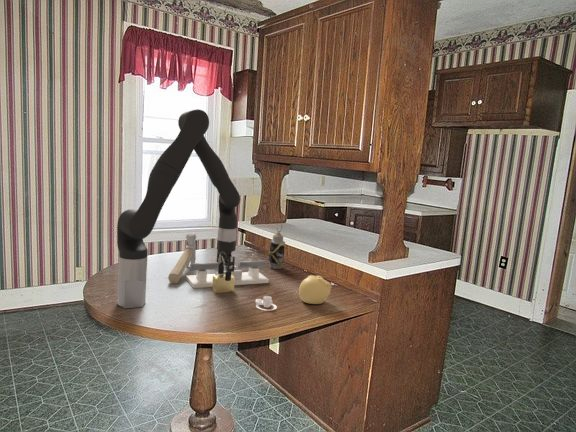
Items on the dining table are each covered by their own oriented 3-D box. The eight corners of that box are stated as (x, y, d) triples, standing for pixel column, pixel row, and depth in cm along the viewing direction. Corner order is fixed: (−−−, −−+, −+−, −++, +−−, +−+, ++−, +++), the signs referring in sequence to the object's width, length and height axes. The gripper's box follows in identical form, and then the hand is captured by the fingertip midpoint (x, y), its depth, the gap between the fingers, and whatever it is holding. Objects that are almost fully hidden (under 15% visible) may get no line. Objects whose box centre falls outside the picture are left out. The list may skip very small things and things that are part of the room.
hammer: (179, 263, 166) (197, 232, 194) (167, 261, 166) (187, 231, 194) (179, 296, 172) (196, 262, 200) (168, 295, 172) (187, 261, 200)
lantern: (285, 269, 206) (290, 220, 203) (270, 269, 203) (275, 220, 199) (279, 264, 214) (283, 217, 210) (264, 264, 211) (269, 217, 207)
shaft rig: (268, 282, 183) (270, 264, 182) (193, 288, 167) (194, 267, 166) (257, 274, 194) (259, 257, 192) (185, 278, 177) (186, 259, 176)
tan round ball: (333, 304, 165) (336, 278, 163) (312, 309, 157) (315, 282, 155) (313, 294, 173) (316, 270, 172) (292, 299, 165) (295, 273, 164)
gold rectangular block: (233, 291, 168) (235, 277, 167) (215, 293, 164) (216, 278, 163) (230, 288, 171) (231, 274, 171) (211, 289, 168) (213, 275, 167)
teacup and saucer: (252, 303, 158) (253, 293, 157) (271, 302, 161) (272, 292, 161) (259, 312, 150) (260, 301, 149) (279, 311, 153) (281, 300, 153)
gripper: (212, 234, 169) (210, 272, 172) (223, 243, 157) (221, 283, 160) (229, 234, 173) (227, 271, 175) (242, 242, 160) (239, 282, 163)
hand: (224, 277), depth 168 cm, fingers open, 8 cm apart
